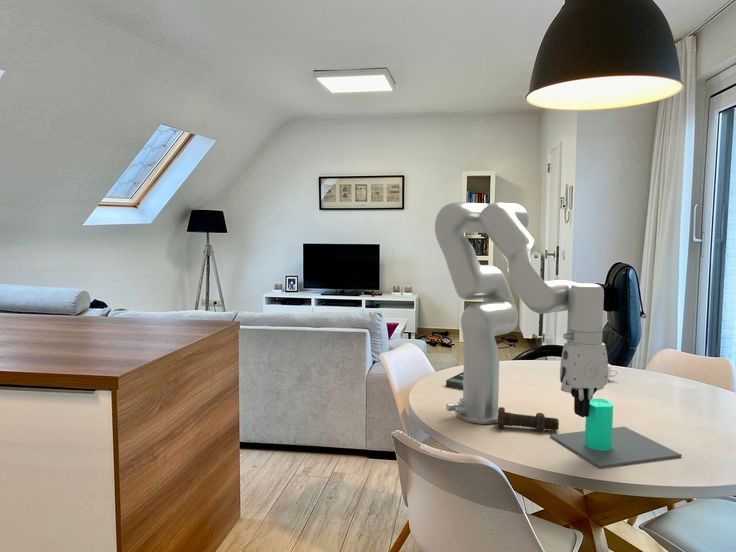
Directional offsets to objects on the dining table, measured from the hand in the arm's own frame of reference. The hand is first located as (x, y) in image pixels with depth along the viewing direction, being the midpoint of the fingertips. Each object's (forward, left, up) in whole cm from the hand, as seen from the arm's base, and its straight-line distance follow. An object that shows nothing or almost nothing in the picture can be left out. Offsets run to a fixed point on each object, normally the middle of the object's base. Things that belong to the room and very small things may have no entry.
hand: (581, 414), depth 124 cm
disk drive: (-1, +56, -9) cm, 57 cm away
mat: (+9, 0, -9) cm, 13 cm away
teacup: (+45, +49, -9) cm, 67 cm away
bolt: (-4, +15, -9) cm, 18 cm away
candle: (+5, 0, -8) cm, 10 cm away
